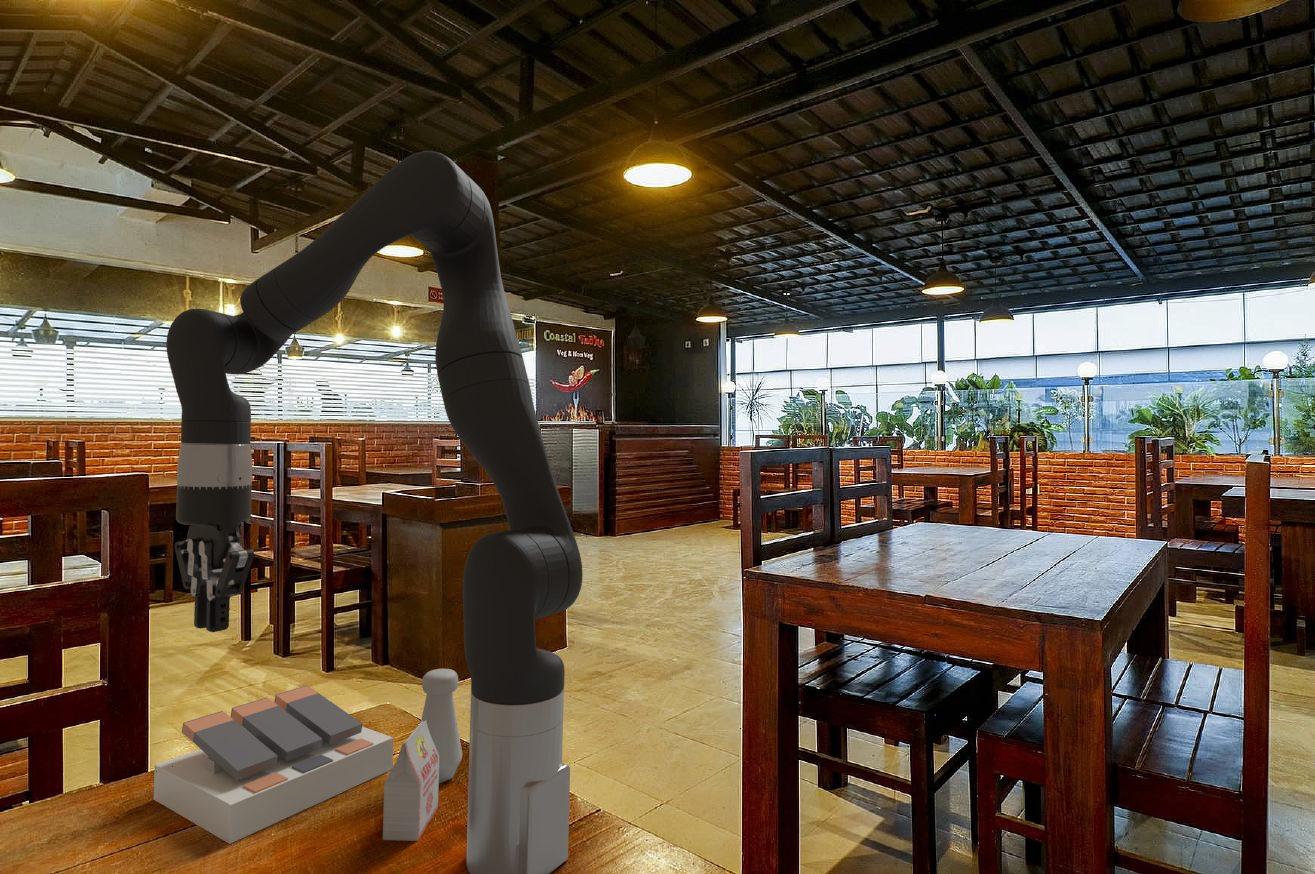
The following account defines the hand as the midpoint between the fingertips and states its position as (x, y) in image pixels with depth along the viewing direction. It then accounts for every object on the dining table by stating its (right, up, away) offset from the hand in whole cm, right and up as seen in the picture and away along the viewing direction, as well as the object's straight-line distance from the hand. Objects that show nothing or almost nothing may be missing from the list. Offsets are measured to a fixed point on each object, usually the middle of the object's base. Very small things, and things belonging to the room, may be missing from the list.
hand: (211, 628), depth 84 cm
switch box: (+7, -19, +2) cm, 21 cm away
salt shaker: (+25, -20, +5) cm, 33 cm away
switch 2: (+6, -13, +2) cm, 14 cm away
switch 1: (+3, -13, -2) cm, 13 cm away
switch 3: (+9, -13, +7) cm, 17 cm away
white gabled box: (+26, -20, -6) cm, 33 cm away
